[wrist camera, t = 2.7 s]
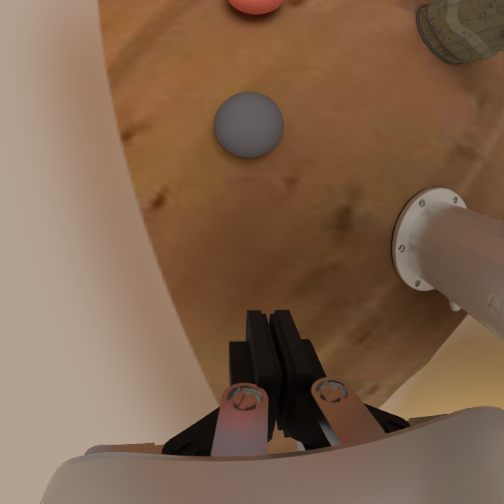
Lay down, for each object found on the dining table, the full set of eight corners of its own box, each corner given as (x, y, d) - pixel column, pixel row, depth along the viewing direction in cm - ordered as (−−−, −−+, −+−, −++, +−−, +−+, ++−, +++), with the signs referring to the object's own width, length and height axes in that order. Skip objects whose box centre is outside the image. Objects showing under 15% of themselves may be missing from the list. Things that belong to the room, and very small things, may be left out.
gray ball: (289, 134, 25) (305, 129, 20) (240, 170, 26) (244, 173, 21) (252, 88, 24) (259, 71, 18) (202, 123, 24) (197, 114, 19)
